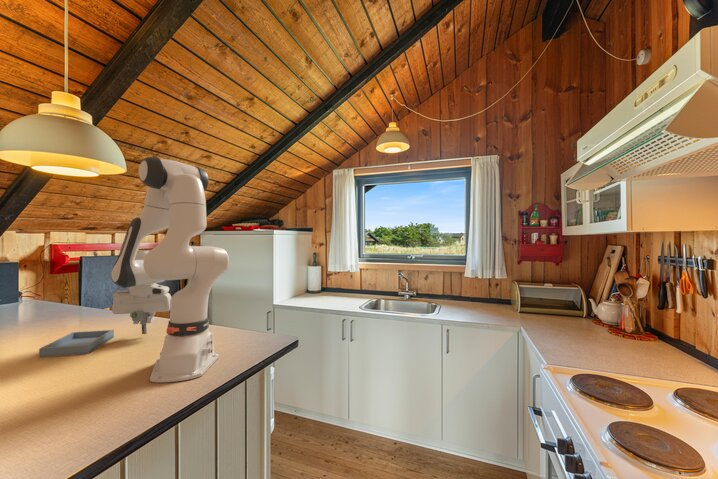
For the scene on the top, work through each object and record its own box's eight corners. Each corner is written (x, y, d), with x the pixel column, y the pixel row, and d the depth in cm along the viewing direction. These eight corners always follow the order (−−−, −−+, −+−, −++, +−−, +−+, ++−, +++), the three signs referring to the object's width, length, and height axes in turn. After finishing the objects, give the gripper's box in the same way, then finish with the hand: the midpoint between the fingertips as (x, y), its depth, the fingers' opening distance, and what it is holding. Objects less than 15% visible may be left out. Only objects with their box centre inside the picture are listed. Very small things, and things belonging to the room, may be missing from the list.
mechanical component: (156, 329, 126) (155, 306, 126) (138, 338, 116) (137, 313, 116) (149, 330, 126) (148, 306, 126) (131, 338, 116) (129, 313, 116)
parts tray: (87, 353, 104) (87, 345, 104) (39, 357, 100) (39, 348, 100) (113, 337, 121) (113, 329, 121) (72, 339, 117) (73, 332, 117)
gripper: (108, 292, 115) (108, 327, 115) (168, 289, 121) (168, 323, 121) (116, 289, 121) (116, 323, 121) (173, 287, 127) (173, 319, 127)
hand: (142, 323), depth 121 cm, fingers closed on mechanical component, 3 cm apart
